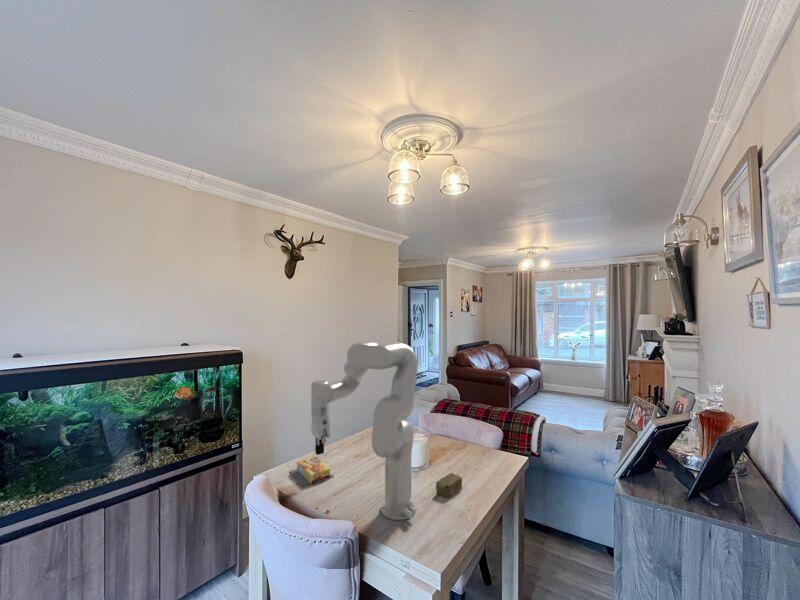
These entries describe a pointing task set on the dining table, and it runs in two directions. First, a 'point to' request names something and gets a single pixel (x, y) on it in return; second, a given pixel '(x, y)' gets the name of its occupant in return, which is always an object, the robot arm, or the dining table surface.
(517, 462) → the dining table surface
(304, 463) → the candy box
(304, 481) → the mat
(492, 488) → the dining table surface
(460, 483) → the stone block
